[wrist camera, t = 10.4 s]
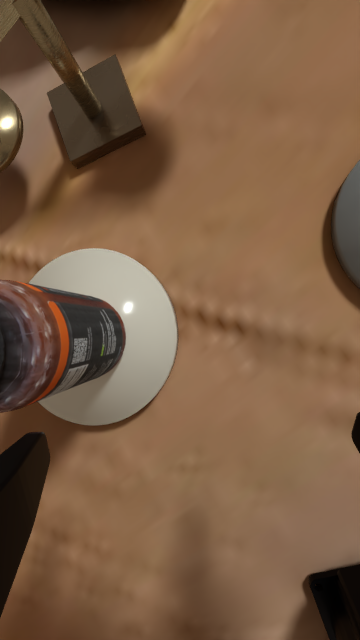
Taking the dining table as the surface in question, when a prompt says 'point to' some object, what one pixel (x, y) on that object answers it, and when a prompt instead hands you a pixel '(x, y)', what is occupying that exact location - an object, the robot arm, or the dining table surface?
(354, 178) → the slate dish
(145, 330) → the cream dish
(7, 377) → the supplement bottle
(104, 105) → the balance
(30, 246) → the dining table surface
